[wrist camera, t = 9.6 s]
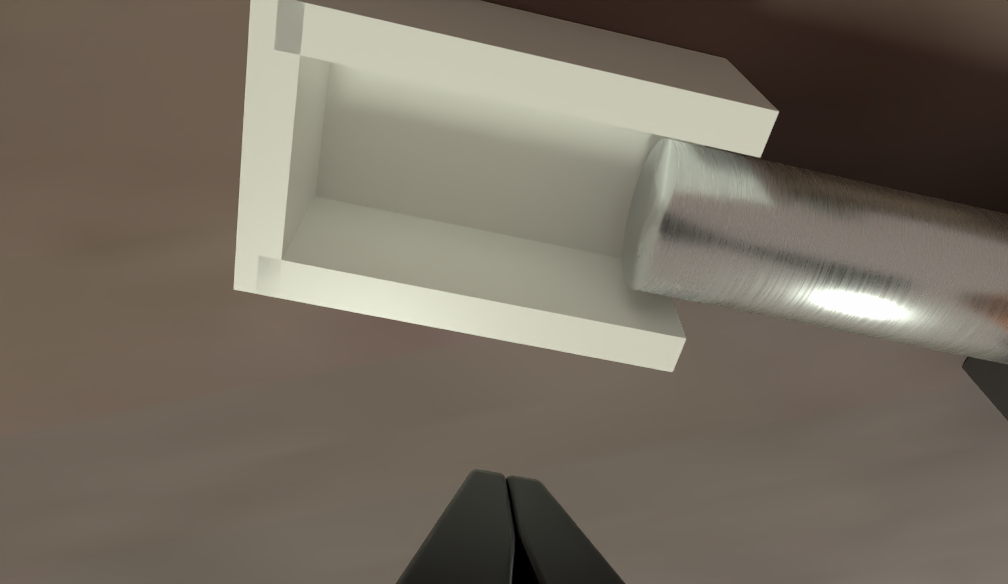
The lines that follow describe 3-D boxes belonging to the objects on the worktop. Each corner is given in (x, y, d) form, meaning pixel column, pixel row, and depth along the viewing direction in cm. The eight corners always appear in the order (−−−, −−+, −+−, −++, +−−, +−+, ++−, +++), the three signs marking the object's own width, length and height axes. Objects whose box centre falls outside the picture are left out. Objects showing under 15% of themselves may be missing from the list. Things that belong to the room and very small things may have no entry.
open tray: (281, 209, 22) (233, 289, 18) (303, -42, 18) (251, -10, 15) (644, 282, 23) (672, 372, 19) (726, 58, 20) (779, 111, 16)
